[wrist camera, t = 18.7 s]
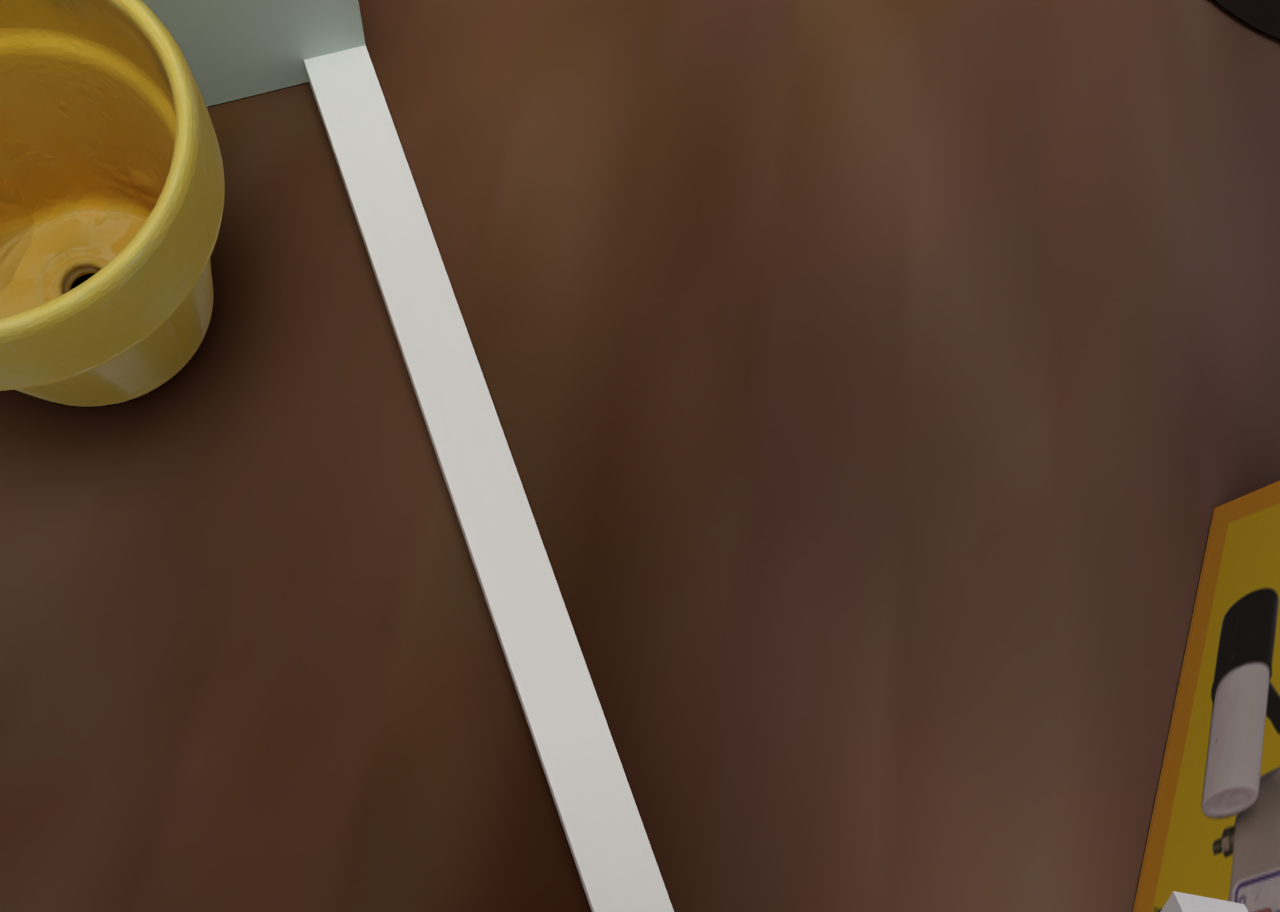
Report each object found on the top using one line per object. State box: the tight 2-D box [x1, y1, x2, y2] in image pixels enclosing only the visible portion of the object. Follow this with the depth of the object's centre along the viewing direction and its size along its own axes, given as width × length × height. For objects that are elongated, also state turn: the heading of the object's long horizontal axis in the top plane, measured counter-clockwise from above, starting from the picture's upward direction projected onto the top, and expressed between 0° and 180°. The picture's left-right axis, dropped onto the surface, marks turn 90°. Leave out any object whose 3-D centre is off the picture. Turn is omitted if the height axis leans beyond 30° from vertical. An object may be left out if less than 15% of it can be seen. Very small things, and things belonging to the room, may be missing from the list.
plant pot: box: [0, 0, 225, 407], centre depth 32 cm, size 10×10×10 cm
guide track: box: [141, 0, 674, 912], centre depth 32 cm, size 32×20×6 cm, turn 21°
